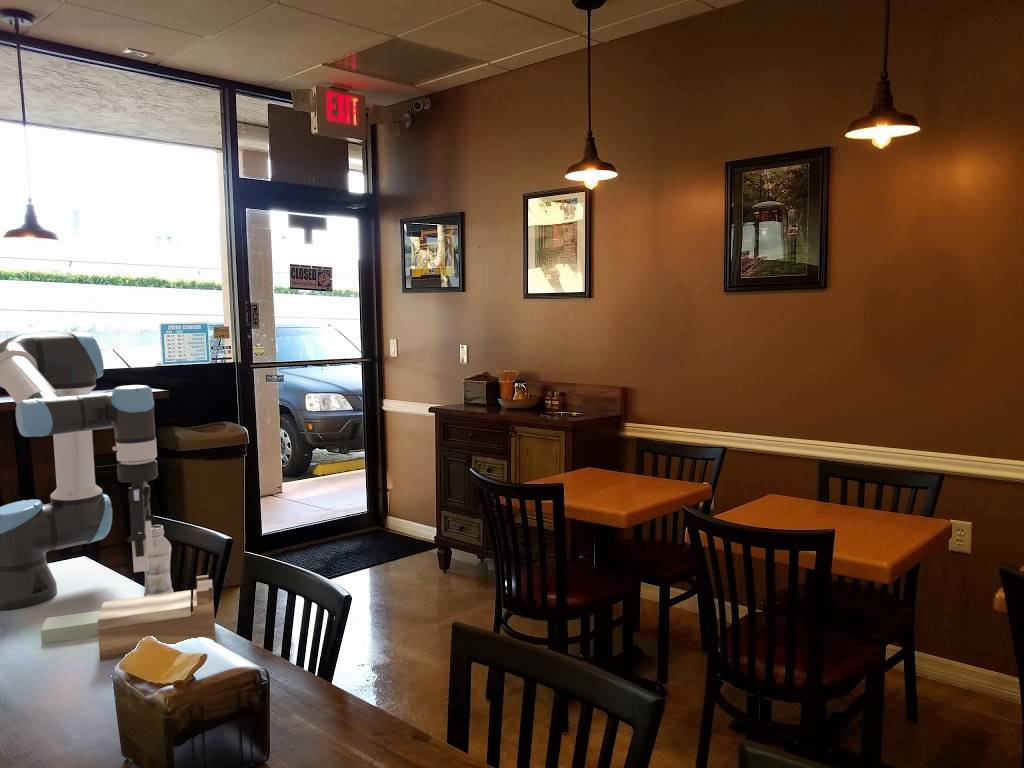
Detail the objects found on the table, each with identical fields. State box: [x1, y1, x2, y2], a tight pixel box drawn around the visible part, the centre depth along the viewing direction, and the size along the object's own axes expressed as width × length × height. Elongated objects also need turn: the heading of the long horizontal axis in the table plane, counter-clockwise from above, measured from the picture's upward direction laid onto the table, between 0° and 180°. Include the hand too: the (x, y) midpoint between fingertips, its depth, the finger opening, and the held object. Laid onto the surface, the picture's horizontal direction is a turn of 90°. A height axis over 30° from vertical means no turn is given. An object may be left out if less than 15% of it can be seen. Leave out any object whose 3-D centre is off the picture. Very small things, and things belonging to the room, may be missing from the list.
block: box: [196, 578, 214, 599], centre depth 168 cm, size 5×3×2 cm, turn 22°
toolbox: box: [97, 574, 216, 661], centre depth 165 cm, size 10×22×12 cm, turn 112°
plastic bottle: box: [143, 524, 174, 597], centre depth 183 cm, size 6×7×20 cm
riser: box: [40, 610, 101, 645], centre depth 172 cm, size 7×13×3 cm, turn 112°
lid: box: [98, 589, 192, 629], centre depth 164 cm, size 10×17×2 cm, turn 112°
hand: (143, 560), depth 163 cm, fingers open, 13 cm apart
